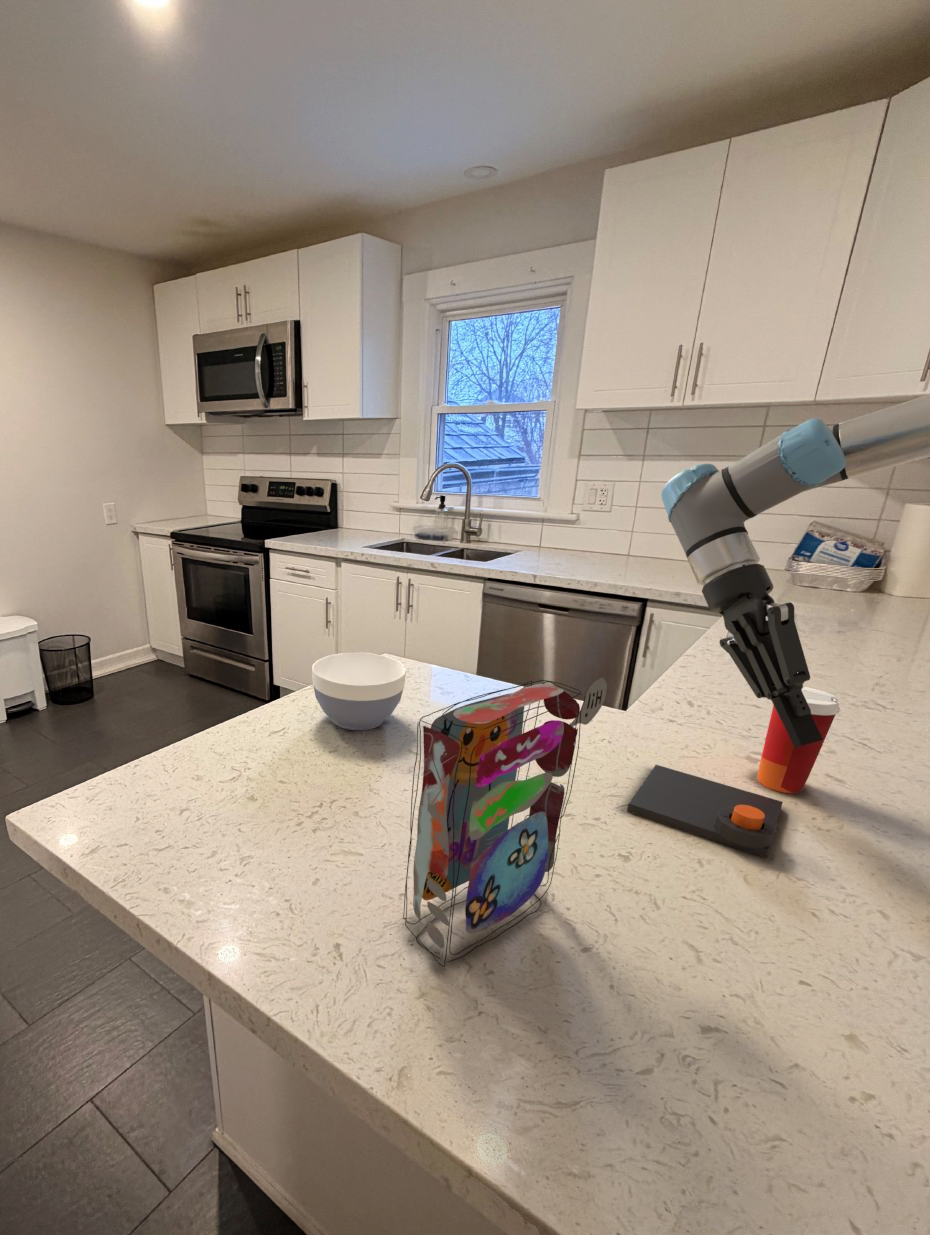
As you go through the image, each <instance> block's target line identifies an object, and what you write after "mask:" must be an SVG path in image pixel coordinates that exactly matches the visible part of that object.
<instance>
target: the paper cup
mask: <svg viewBox="0 0 930 1235" xmlns="http://www.w3.org/2000/svg"><path fill="white" fill-rule="evenodd" d="M801 690H802V693H803V695H804V697H805V699H806V701H807V703H808V705H809V708H810V710H811V715H812V717H813V719H814V722H815V724H816V726H817V728H818V730H819V732H820V734H821V736H822V738H823V740H822V741H818V742H814V743H810V744H807V745H803V746H799V747H795V748H794V746H793V744H792V742H791V740H790V737H789V735H788V733H787V731H786V729H785V726H784V724H783V722H782V721H781V720H780V718H779V716H778V713H777V711H776V709H775V707H774V705H773V704H772V705H773V706H772V709H771V713H770V718H769V722H768V726H767V731H766V735H765V740H764V744H763V748H762V753H761V756H760V760H759V761H760V762H759V766H758V771H757V776H756V778H757V781H758V782H759V783H760V784H761V785H762V786H764V787H765V788H768V789H771V790H773V791H776V792H780V793H784V794H798V793H801V792H802V791H803V789H804V788H805V786H806V783H807V782H808V779H809V776H810V774H811V772H812V770H813V768H814V765H815V763H816V761H817V759H818V756H819V754H820V752H821V749H822V747H823V744H824V743H825V740H826V738H827V736H828V733H829V732H830V729H831V727H832V724H833V721H834V719H835V717H836V715H838V714H839V713H840V712H841V707H840V705H839V701H838V698H837V697H836V695H833V694H832V693H829V692H827V691H823V690H821V689H818V688H814V687H808V686H803V688H802V689H801Z"/></svg>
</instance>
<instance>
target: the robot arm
mask: <svg viewBox="0 0 930 1235" xmlns="http://www.w3.org/2000/svg"><path fill="white" fill-rule="evenodd" d="M927 458H930V393H929V394H926V395H923V396H919V397H917V398H913V399H910V400H907V401H904V402H901V403H898V404H894V405H891V406H888V407H885V408H883V409H882V408H881V409H879V410H876V411H874V412H870V413H867V414H864V415H860V416H857V417H854V418H851V419H848V420H845V421H842V422H839V423H836V424H833V425H829V426H828V425H827V424H826V423H825V421H824V420H822V419H821V418H819V417H815V418H814V417H813V418H809V419H808V420H805V421H804V422H802V423H800V424H798V425H797V426H795V427H792V428H789V429H786V430H785V431H783V432H782V433H781V434H780V435H778V436H777V437H775V438H774V439H772V440H770V441H769V442H767V443H766V444H764V445H762V446H760V447H758V448H757V449H755V450H754V451H751V453H749V454H747V455H746V456H744V457H742V458H741V459H739V460H737V461H736V462H734V463H732V464H731V465H728V466H726V467H724V468H721V469H720V470H719V469H718V468H717V466H715V465H714V464H712V463H701V464H696V465H694V466H692V467H691V468H689V469H684V470H682V471H681V472H679V473H677V474H676V475H674V476H673V477H672V478H671V479H669V480H668V481H667V482H666V483H665V484H664V487H663V488H662V490H661V501H662V504H663V506H664V508H665V512H666V513H667V520H668V522H669V523H670V524H671V526H672V529H673V530H674V533H675V535H676V537H677V538H678V541H679V543H680V545H681V547H682V549H683V552H684V553H685V557H686V558H687V562H688V564H689V567H690V568H691V571H692V574H693V577H694V578H695V580H696V583H697V585H698V586H702V589H701V593H702V595H703V598H704V600H705V602H706V604H707V606H708V609H709V610H710V612H712V613H714V614H720V615H722V618H723V623H724V627H725V629H726V631H727V633H726V636H725V637H724V638H721V639H719V646H720V647H721V648H722V649H723V650H724V651H725V652H726V653H727V654H729V656H730V658H731V660H732V661H733V663H734V664H735V666H736V667H737V669H738V671H739V672H740V673H741V675H742V677H743V678H744V679H745V682H746V683H747V685H748V686H749V687H750V689H751V691H752V692H753V694H754V696H755V697H756V698H757V699H761V698H762V699H763V698H764V699H765V698H766V699H768V700H770V701H771V702H772V705H774V707H775V709H776V711H777V713H778V716H779V718H780V720H781V721H782V722H783V724H784V726H785V729H786V731H787V733H788V735H789V737H790V740H791V742H792V744H793V746H794V748H795V747H799V746H803V745H807V744H810V743H814V742H818V741H822V740H823V738H822V736H821V734H820V732H819V730H818V728H817V726H816V724H815V722H814V719H813V717H812V715H811V710H810V708H809V705H808V703H807V701H806V699H805V697H804V695H803V693H802V690H801V689H802V688H803V687H804V684H805V682H807V681H810V680H811V673H810V671H809V666H808V664H807V660H806V656H805V653H804V649H803V647H802V643H801V639H800V635H799V632H798V628H797V625H796V620H795V605H794V603H792V602H791V601H790V602H785V603H776V602H775V600H774V598H773V597H772V596H771V595H770V593H771V592H772V591H773V590H774V584H773V581H772V580H771V578H770V575H769V574H768V572H767V569H766V567H765V565H763V564H761V563H759V562H760V559H761V558H760V555H759V553H758V551H757V550H756V548H755V546H754V544H753V542H752V540H751V538H750V536H749V532H748V530H747V528H746V526H745V522H746V521H748V520H750V519H753V518H754V517H756V516H758V515H759V514H761V513H763V512H765V511H768V510H769V509H773V507H775V506H777V505H779V504H782V503H784V502H785V501H788V500H789V499H792V498H794V497H796V496H797V495H799V494H801V493H803V492H806V491H807V492H808V491H810V490H814V489H817V488H820V487H825V486H828V485H832V484H835V483H840V482H843V481H845V480H849V479H853V478H856V477H860V476H865V475H868V474H871V473H876V472H879V471H882V470H886V469H890V468H893V467H898V466H902V465H905V464H908V463H912V462H916V461H920V460H923V459H927Z"/></svg>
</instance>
